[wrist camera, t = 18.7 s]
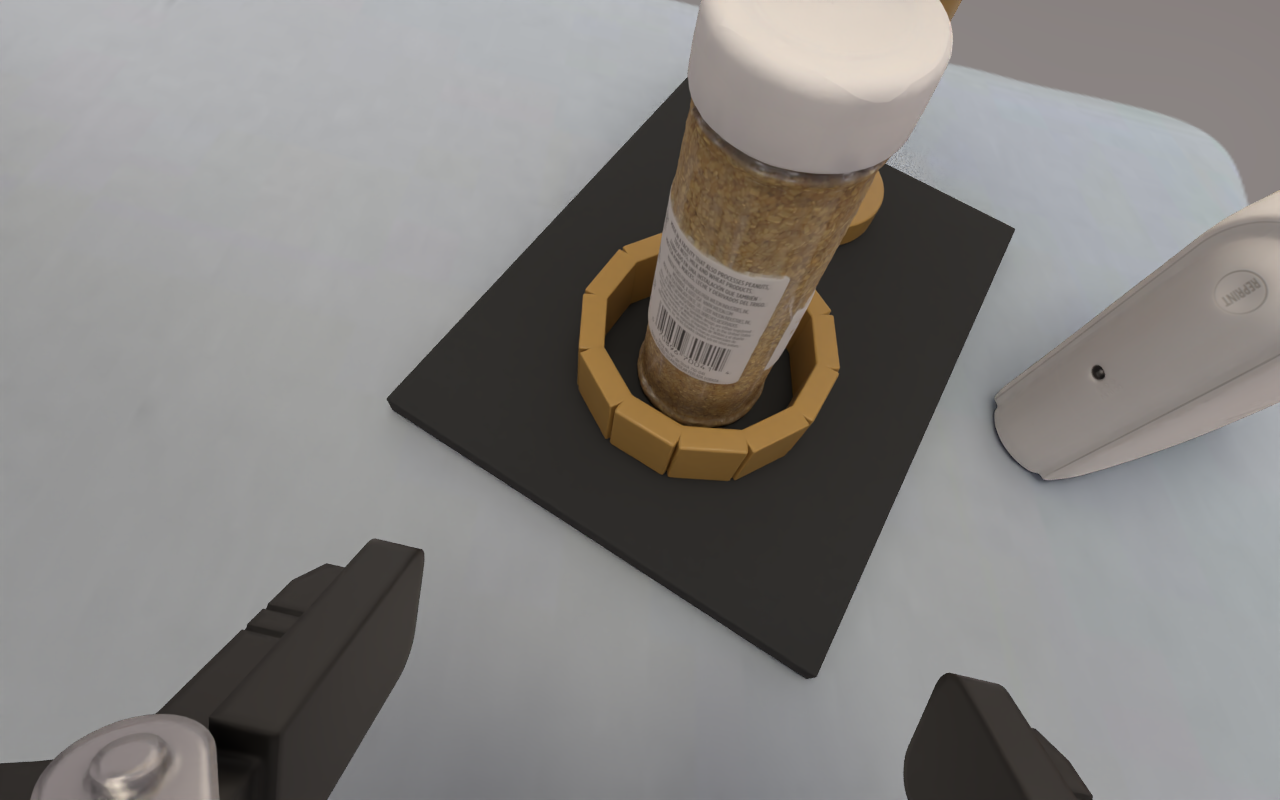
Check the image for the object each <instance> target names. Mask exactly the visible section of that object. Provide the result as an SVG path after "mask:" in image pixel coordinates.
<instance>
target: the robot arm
mask: <svg viewBox="0 0 1280 800" xmlns="http://www.w3.org/2000/svg"><path fill="white" fill-rule="evenodd" d="M423 568H424V551H423V550H422V549H418V548H414V547H409V546H405V545H401V544H396V543H392V542H388V541H383V540H379V539H372V540H370V541H369V542H368V543H367V544H366V545H365V546H364V547H363V548H362V549H361V550H360V552H359V553H358V554H357V555H356V556H355V557H354V558H353V559H352V560H351V561H350V563H349V564H348V565H347V566H346V567H345V568H344V567H340V566H336V565H331V564H327V563H326V564H324V565H322V566H320V567H318V568H316V569H314V570H312V571H310V572H308V573H306V574H304V575H302V576H300V577H298V578H296V579H294V580H292V581H291V582H290V583H289V584H288V585H287V586H286V587H285V588H284V589H283V590H282V591H281V592H280V593H279V594H278V595H277V596H276V597H275V598H274V599H272V600H271V601H270V602H269V603H268V606H267V608H266V609H262V610H261V611H260V612H259V613H258V614H257V615H256V616H255V617H254V618H253V619H252V620H251V621H250V622H249V623H248V624H247V627H246V629H245V630H241V631H240V632H239V633H238V634H237V635H236V636H235V637H234V638H233V639H232V640H231V641H230V642H229V643H228V644H227V645H226V646H225V647H224V648H223V649H222V650H221V651H220V652H219V653H218V654H216V655H215V656H214V657H213V658H212V659H211V660H210V661H209V662H208V663H207V664H206V665H205V666H204V667H203V668H202V669H201V670H200V671H199V672H198V673H197V674H196V675H195V676H194V677H193V678H192V679H191V680H190V681H189V682H188V683H187V684H186V685H185V686H184V687H183V688H182V689H181V690H180V691H179V692H178V693H177V694H176V695H175V696H174V697H173V698H172V699H171V700H170V701H169V702H168V703H167V704H166V705H165V706H164V707H163V708H162V709H160V710H159V711H158V712H157V713H156V714H152V715H143V716H138V717H132V718H129V719H125V720H121V721H118V722H115V723H112V724H110V725H107V726H104V727H102V728H100V729H98V730H96V731H94V732H92V733H89V734H88V735H86V736H84V737H83V738H81V739H79V740H78V741H76V742H74V743H73V744H72V745H70V746H69V747H68V748H66V749H65V750H64V751H62V752H61V753H60V754H59V755H58V756H57V757H56V758H55V759H54V760H45V761H34V762H17V763H0V800H327V799H328V797H329V796H330V794H331V792H332V791H333V789H334V787H335V785H336V784H337V782H338V780H339V779H340V777H341V775H342V774H343V772H344V770H345V769H346V767H347V765H348V764H349V762H350V760H351V758H352V757H353V755H354V753H355V752H356V750H357V748H358V747H359V745H360V743H361V742H362V740H363V738H364V736H365V735H366V733H367V731H368V730H369V728H370V726H371V725H372V723H373V721H374V720H375V718H376V716H377V715H378V713H379V711H380V709H381V708H382V706H383V704H384V703H385V701H386V699H387V698H388V696H389V694H390V693H391V691H392V689H393V688H394V686H395V684H396V682H397V681H398V679H399V677H400V675H401V673H402V671H403V669H404V667H405V665H406V662H407V659H408V657H409V654H410V650H411V647H412V643H413V639H414V634H415V628H416V620H417V613H418V605H419V598H420V591H421V583H422V576H423ZM904 786H905V791H906V795H907V798H908V800H1092V797H1093V796H1092V794H1091V793H1090V791H1089V790H1088V788H1087V787H1086V785H1085V784H1084V782H1083V781H1082V780H1081V778H1080V777H1079V775H1078V774H1077V772H1076V771H1075V769H1074V768H1073V766H1072V765H1071V763H1070V762H1069V761H1068V760H1067V759H1066V758H1065V757H1064V756H1063V755H1062V754H1061V753H1060V752H1059V751H1058V750H1057V749H1056V748H1055V747H1054V746H1053V745H1052V744H1051V743H1050V742H1049V741H1048V740H1047V739H1046V738H1045V737H1044V736H1042V735H1041V734H1040V733H1039V732H1038V731H1037V730H1036V729H1034V728H1031V727H1030V725H1029V724H1028V722H1027V721H1026V719H1025V718H1024V716H1023V715H1022V713H1021V711H1020V710H1019V708H1018V707H1017V705H1016V704H1015V702H1014V701H1013V699H1012V698H1011V696H1010V694H1009V693H1008V692H1007V690H1006V689H1005V688H1004V687H1003V686H1001V685H999V684H996V683H991V682H987V681H983V680H978V679H974V678H970V677H965V676H961V675H957V674H952V673H946V674H944V675H943V676H941V677H940V679H939V680H938V682H937V684H936V685H935V688H934V690H933V692H932V694H931V697H930V699H929V701H928V703H927V706H926V708H925V710H924V712H923V715H922V717H921V719H920V721H919V724H918V726H917V728H916V730H915V733H914V735H913V737H912V739H911V742H910V744H909V746H908V749H907V751H906V755H905V760H904Z"/></svg>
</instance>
